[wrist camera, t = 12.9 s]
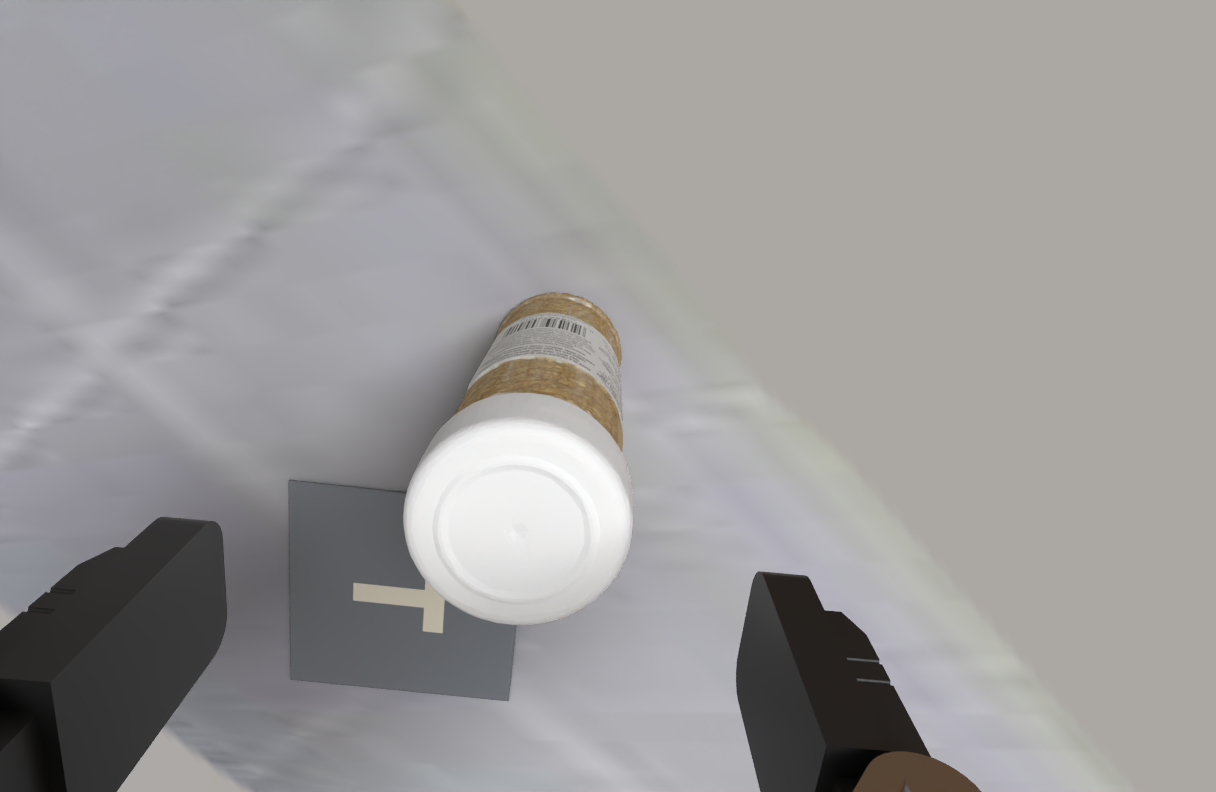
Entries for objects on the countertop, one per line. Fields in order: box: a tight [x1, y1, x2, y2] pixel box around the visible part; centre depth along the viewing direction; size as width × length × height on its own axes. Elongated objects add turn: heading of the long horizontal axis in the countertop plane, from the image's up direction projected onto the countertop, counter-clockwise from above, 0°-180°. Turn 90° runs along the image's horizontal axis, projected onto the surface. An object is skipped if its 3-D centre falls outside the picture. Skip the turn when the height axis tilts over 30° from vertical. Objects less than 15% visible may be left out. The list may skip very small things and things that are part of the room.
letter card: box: [289, 480, 516, 701], centre depth 31 cm, size 9×9×1 cm
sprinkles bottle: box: [403, 293, 633, 625], centre depth 21 cm, size 5×5×13 cm
